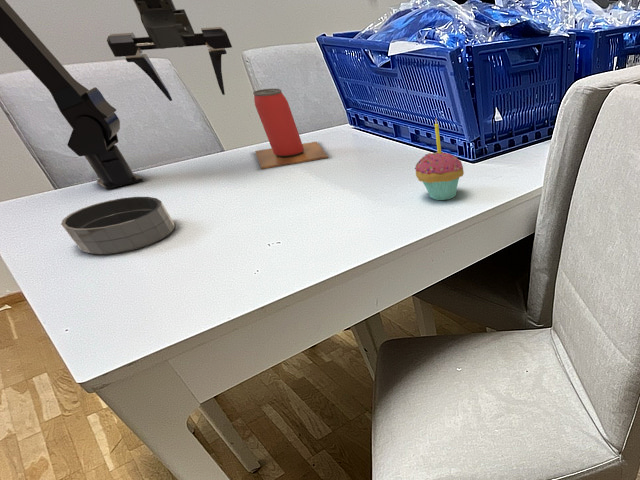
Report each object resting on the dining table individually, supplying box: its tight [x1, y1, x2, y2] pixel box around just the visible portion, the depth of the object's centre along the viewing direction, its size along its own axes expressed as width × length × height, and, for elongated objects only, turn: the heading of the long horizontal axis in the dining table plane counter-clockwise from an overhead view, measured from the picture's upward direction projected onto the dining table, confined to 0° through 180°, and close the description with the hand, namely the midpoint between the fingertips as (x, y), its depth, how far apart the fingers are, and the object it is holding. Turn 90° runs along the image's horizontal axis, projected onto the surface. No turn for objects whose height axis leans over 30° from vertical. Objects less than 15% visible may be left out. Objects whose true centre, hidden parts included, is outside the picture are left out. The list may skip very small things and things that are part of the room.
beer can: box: [252, 88, 304, 157], centre depth 98 cm, size 7×7×12 cm
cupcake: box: [414, 117, 465, 201], centre depth 78 cm, size 9×8×12 cm
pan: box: [60, 196, 175, 255], centre depth 71 cm, size 13×13×4 cm
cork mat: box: [254, 141, 329, 170], centre depth 102 cm, size 14×14×1 cm
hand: (197, 97), depth 87 cm, fingers open, 9 cm apart
